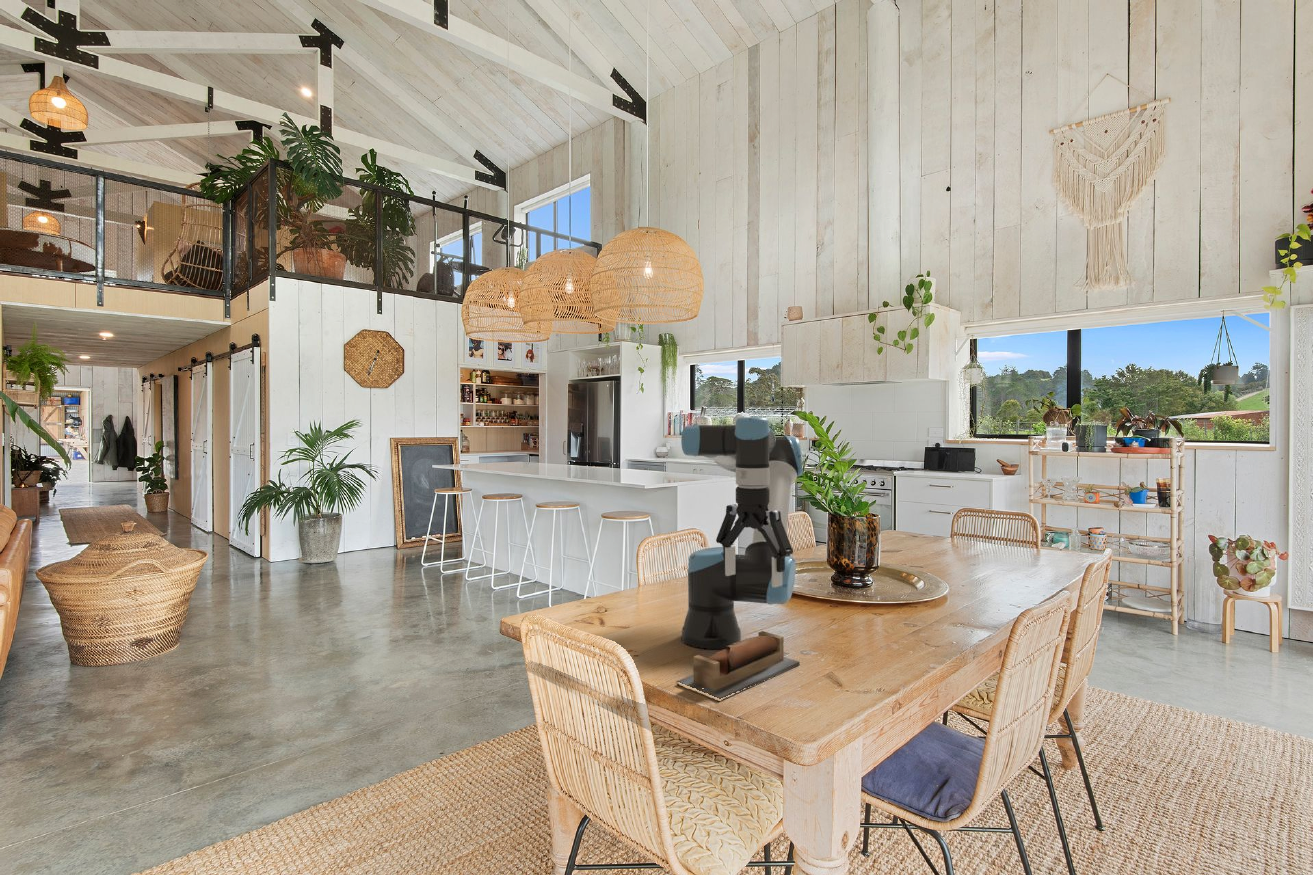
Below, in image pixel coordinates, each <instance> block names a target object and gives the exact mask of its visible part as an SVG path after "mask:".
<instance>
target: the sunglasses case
mask: <svg viewBox="0 0 1313 875" xmlns="http://www.w3.org/2000/svg"><path fill="white" fill-rule="evenodd" d="M776 650H777V642H776V640H775V639H774V638H773V637H771V636H759V635H758V636H752V637H749V638H745V639H743V640H741V641H739V642H736V643H733V644H731V645H729V646H727V647H726V648H723V649H721V650H720V651H718V652H716V653H714V654H712V655H710V656H709V657H707V658H708V659H711V660H714V661H717V662H720V673H722V674H725V675H727V674H729V673H730V672H733V671H735V670H736V669H738V668H740V667H742V666H743V665H745V664H747V663H748V662H749V661H752V660H755V659H757V658H759V657H760V656H763V655H765V654H768V653H770V652H775V651H776Z"/></svg>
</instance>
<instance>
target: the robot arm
mask: <svg viewBox="0 0 1313 875" xmlns="http://www.w3.org/2000/svg"><path fill="white" fill-rule="evenodd" d="M681 432H682V433H681V437H680V439H681V440H680V441H681V444H680V445H681V451H682V452H683V454H684V455H685V456H691V457H704V458H707V459H709V460H712V461H713V462H715V463H716V465H717V466H718V467H720V468H721V469H724V470H726V471H730V472H733V473H735V484H736V485H737V487H736V488H735V504H729V505H728V504H727V505H726V506H725V515H724V518H723V521H722V523H721V525H720V529H719V531H718V533H717V536H716V539H715V541H716V543H717V544H721V546H715V547H707V548H703V549H702V548H701V549H699V550H698V549H697V551H693V552H692V553H691V554H690V555H689V557H688V565H687V566H688V567H687V568H688V569H687V588H688V589H687V590H688V591H687V593H688V594H687V596H688V597H687V598H688V604H687V605H688V607H687V608H688V609H687V612H686V617H685V620H684V623H683V626H682V628H681V641H682V642H683V641H684V642H683V643H684V644H686V643H687V644H688V645H687V644H686V645H687V646H690V645H692V646H691V647H694V648H697V647H701V648H700V649H704V648H706V650H724V649H726V647H727V646H729V645H731V644H733V643H736V642H739V641H742V631H741V628H740V627H739V622H738V620H737V616H736V612H735V606H734V605H735V604H734V602H740V603H741V602H743V603H744V602H745V603H754V604H757V603H758V604H768V605H772V606H773V605H784V604H787V603H788V602H789V601H790V600H791V597H792V595H793V592H794V586H795V581H796V573H797V572H796V571H797V563H796V559H795V558H794V557H792V556H791V555H793V553H794V549H793V547H792V544H791V542H790V540H789V537H788V534H787V533H788V532H787V531H788V519H789V508H790V497H791V488H792V487H791V486H793V485H794V484H795V483H796V481H797V479H798V477H801V476H803V474H804V471H803V470H804V469H803V461H802V451H801V442H800V441H801V440H800V439H799V437H797V436H790V435H786V434H784V435H783V436H782V435H779V436H778V435H775V432H774V430H773V429H772V428H771V427H770V421H769V419H768V418H767V417H764V416H763V417H762V416H755V417H754V416H749V417H748V416H747V417H745V416H744V417H737V419H736V420H735V424H722V425H720V424H718V425H717V424H716V425H715V424H711V425H710V424H707V425H706V424H694V425H686V426H684V427H683V429H682V431H681ZM797 452H798V453H797ZM796 454H797V455H796ZM737 516H738V517H737ZM736 517H737V518H736ZM745 528H751V529H753V534H752V541H751V543H749V544H748V545H747V546H746V547H745V551H744V554H736V546H735V541H736V540H737V539H738V537H739V536H740V534H741V533H742V531H744V529H745Z"/></svg>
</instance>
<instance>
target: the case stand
mask: <svg viewBox="0 0 1313 875" xmlns="http://www.w3.org/2000/svg"><path fill="white" fill-rule="evenodd" d="M758 636H771V637H773V638H774V639H775V640H776V642H777V650H776V651H775V652H770V653H768V654H765V655H763V656H760V657H759V658H757V659H755V660H752V661H749V662H748V663H747V664H745V665H743V666H742V667H740V668H738V669H736V670H735V671H733V672H730V673H729V674H727V675H725V674H722V673H720V662H717V661H714V660H711V659H708V658H709V657H705V656H702V655H700V654H697V655H694V656H693V658H692V659H693V660H692V661H693V666H692V670H693V674H692V675H689V676H686V677H684V678H681V679H679V680H676V683H677V682H680V683H682V684H685V685H687V686H690V687H692V688H696V689H697V690H699V691H702V692H704V693H708V694H709V695H712V696H714V697H717V698H719V699H721V698H723V697H726V696H728V695H731V694H732V693H736V692H737V691H741V690H743V689H744V688H748V687H750V686H753V685H755V684H758V683H760V682H762V683H764V682H765V681H764V680H766V681H768V679H769V678H771V679H773V678H775V677H777V676H779V675H781V674H780V673H782V674H783V672H784V673H785V671H786V672H787V671H790V670H792V669H794V668H796V667H798V666H800V663H801V662H800V661H799V660H795V659H792V658H788V657H786V656H785V654H784V647H785V646H784V641H785V640H784V636H781V635H778V634H774V633H770V632H767V631H763V630H762V631H759V632H758ZM778 674H779V675H778ZM776 675H777V676H776ZM774 676H775V677H774ZM772 677H773V678H772ZM769 680H770V679H769ZM763 681H764V682H763ZM760 684H761V683H760ZM758 685H759V684H758ZM753 687H754V686H753ZM702 688H704V689H702Z"/></svg>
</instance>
